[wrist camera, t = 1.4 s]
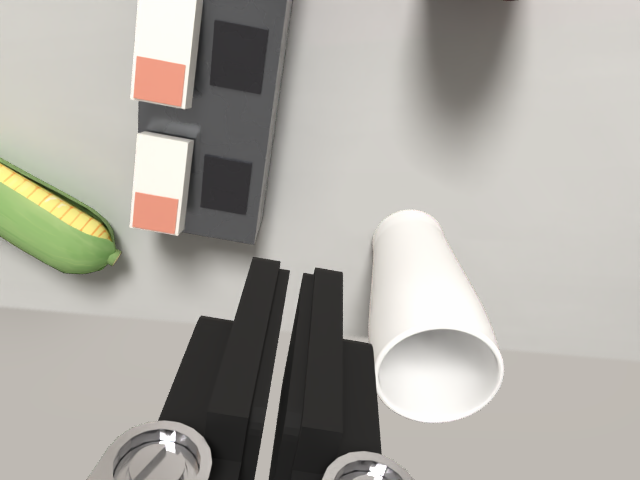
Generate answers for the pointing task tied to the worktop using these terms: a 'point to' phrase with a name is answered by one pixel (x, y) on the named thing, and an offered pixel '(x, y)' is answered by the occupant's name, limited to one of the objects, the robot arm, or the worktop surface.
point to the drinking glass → (428, 325)
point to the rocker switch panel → (229, 115)
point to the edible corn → (53, 224)
